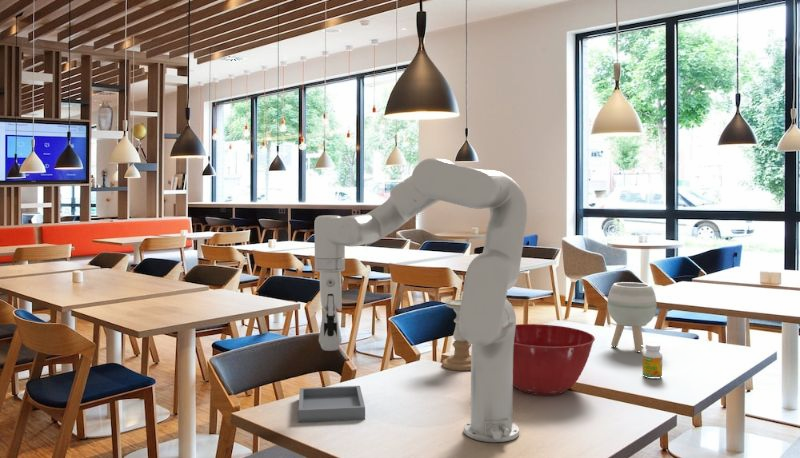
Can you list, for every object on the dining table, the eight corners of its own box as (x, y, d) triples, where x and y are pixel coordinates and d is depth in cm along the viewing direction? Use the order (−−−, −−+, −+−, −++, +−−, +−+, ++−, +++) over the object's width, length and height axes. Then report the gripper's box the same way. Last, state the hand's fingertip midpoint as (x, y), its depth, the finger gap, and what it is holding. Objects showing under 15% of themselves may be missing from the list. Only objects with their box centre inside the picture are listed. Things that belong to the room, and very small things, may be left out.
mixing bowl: (593, 377, 201) (594, 326, 200) (594, 408, 173) (595, 348, 172) (497, 371, 208) (498, 321, 207) (483, 399, 181) (483, 341, 180)
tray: (365, 419, 166) (365, 407, 165) (298, 422, 164) (298, 410, 163) (359, 396, 183) (359, 385, 183) (299, 399, 181) (299, 388, 181)
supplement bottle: (641, 378, 200) (641, 345, 200) (643, 373, 205) (644, 341, 205) (660, 380, 198) (661, 347, 197) (663, 376, 203) (663, 343, 202)
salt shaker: (337, 352, 169) (337, 300, 168) (315, 351, 170) (315, 299, 169) (344, 346, 175) (344, 296, 174) (323, 345, 176) (322, 295, 175)
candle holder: (449, 372, 207) (450, 306, 206) (436, 362, 219) (437, 300, 217) (487, 369, 210) (487, 304, 209) (472, 359, 222) (473, 298, 221)
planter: (596, 346, 240) (597, 283, 239) (631, 341, 247) (632, 280, 246) (629, 356, 226) (631, 289, 224) (666, 351, 233) (667, 286, 231)
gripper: (346, 268, 163) (346, 344, 165) (343, 260, 180) (343, 329, 181) (314, 268, 163) (315, 344, 164) (314, 261, 179) (315, 330, 180)
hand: (330, 336), depth 172 cm, fingers closed on salt shaker, 3 cm apart
